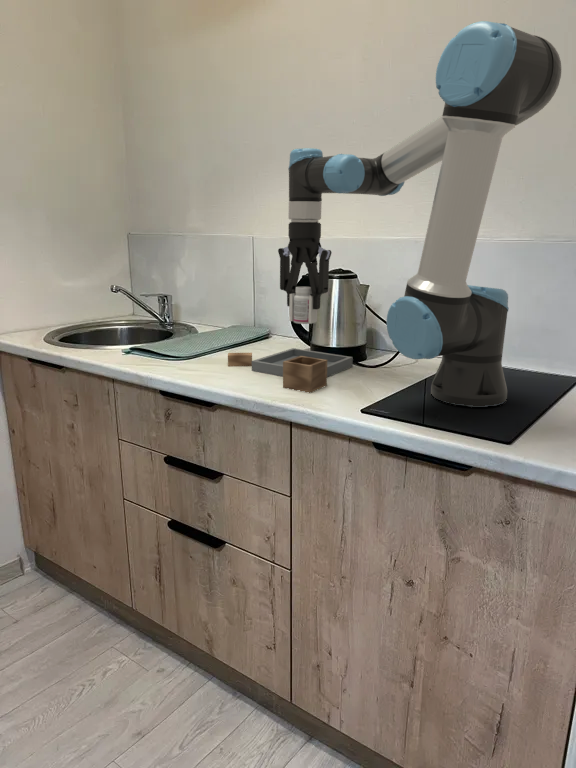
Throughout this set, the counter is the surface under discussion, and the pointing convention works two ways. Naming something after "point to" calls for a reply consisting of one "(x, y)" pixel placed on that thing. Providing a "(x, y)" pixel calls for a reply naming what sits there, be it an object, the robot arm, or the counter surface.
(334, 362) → the tray
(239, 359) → the stained block
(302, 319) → the pill bottle
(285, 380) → the walnut box
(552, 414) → the counter surface
